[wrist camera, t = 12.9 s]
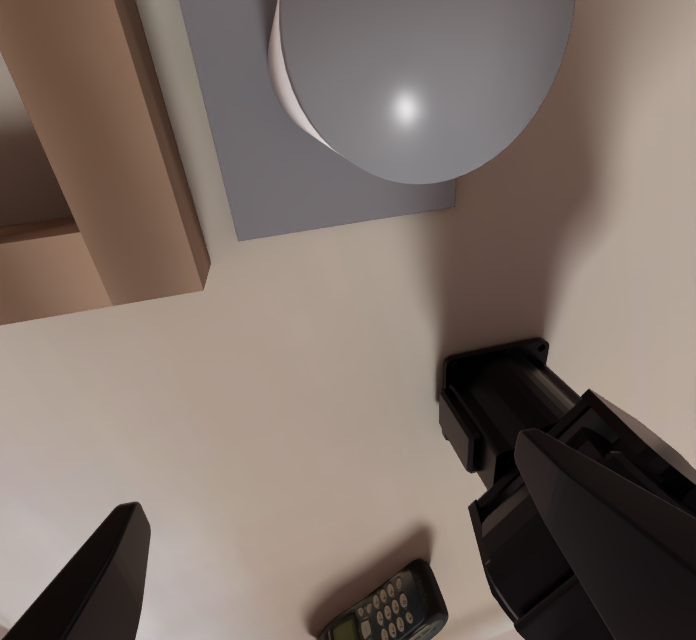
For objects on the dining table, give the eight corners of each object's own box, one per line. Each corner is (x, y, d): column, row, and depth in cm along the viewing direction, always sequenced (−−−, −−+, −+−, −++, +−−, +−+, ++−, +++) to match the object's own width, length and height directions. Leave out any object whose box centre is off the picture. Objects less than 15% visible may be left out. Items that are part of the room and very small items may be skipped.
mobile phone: (437, 615, 29) (299, 721, 32) (461, 624, 30) (326, 725, 33) (413, 550, 33) (293, 648, 36) (434, 560, 35) (317, 654, 38)
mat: (457, -160, 13) (465, -170, 13) (449, 203, 19) (454, 207, 19) (145, -147, 12) (140, -158, 12) (238, 237, 18) (238, 241, 18)
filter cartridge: (395, -23, 14) (604, -207, 6) (401, 131, 17) (551, 165, 8) (254, -12, 14) (249, -196, 5) (281, 146, 16) (308, 201, 8)
